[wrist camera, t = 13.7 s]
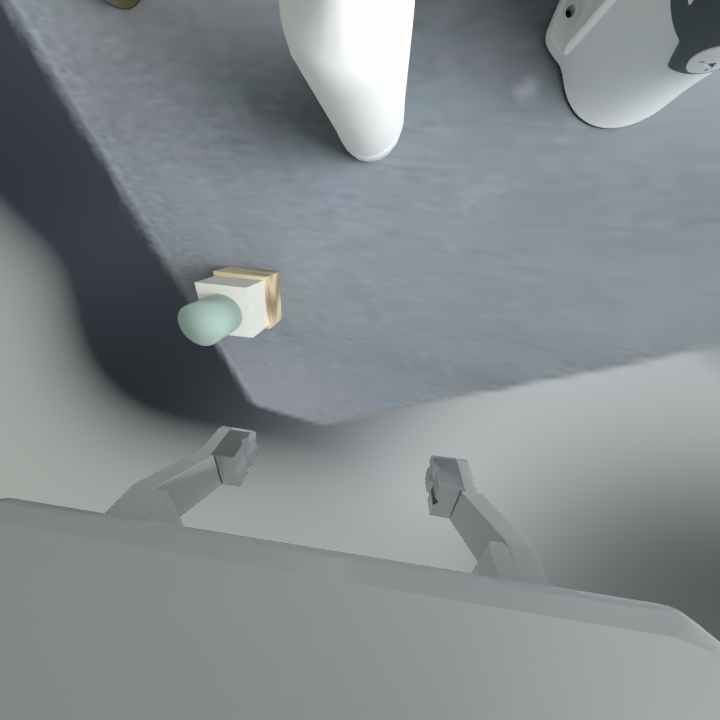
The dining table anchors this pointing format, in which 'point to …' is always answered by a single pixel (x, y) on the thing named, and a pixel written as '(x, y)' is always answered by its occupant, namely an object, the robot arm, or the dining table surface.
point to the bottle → (354, 65)
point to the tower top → (239, 300)
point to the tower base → (269, 286)
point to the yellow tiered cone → (123, 3)
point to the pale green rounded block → (210, 319)
